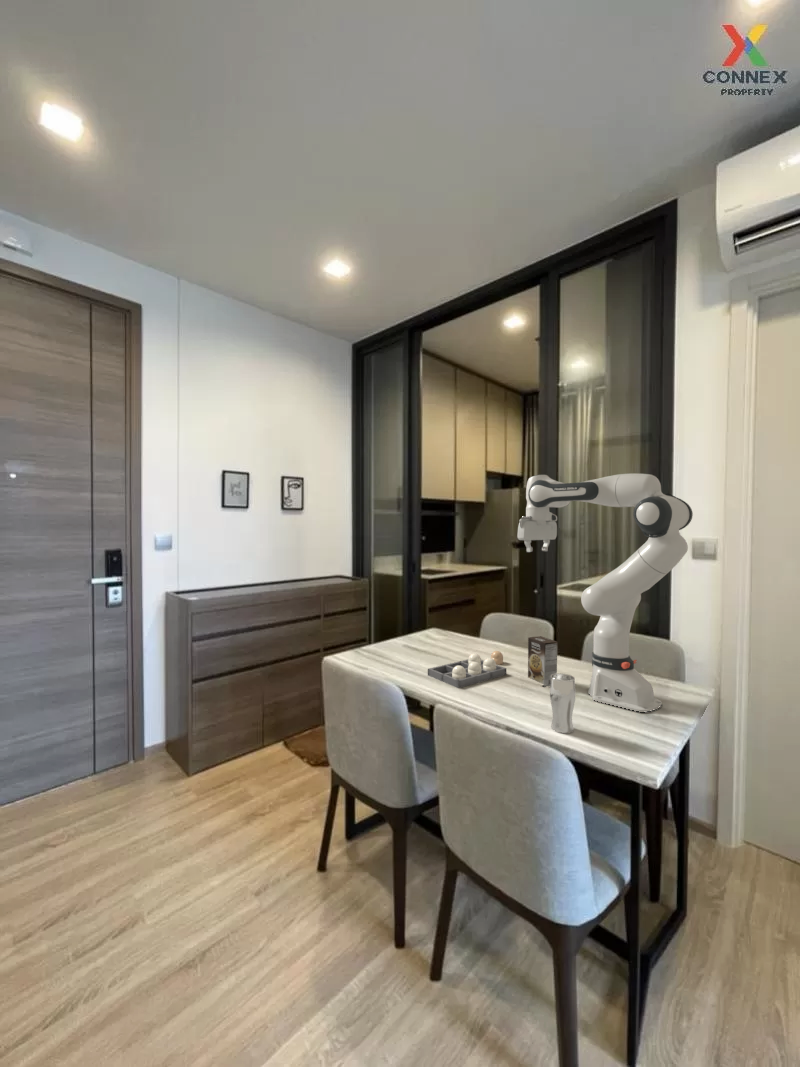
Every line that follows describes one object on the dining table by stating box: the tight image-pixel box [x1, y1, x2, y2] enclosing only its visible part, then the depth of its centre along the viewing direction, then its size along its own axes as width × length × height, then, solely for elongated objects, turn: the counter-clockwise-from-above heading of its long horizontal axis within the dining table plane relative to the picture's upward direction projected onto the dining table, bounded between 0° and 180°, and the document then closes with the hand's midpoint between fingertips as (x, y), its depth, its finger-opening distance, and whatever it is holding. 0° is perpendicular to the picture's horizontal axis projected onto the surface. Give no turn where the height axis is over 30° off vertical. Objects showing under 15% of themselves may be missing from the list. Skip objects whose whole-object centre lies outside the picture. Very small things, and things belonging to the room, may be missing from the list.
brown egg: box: [490, 650, 504, 666], centre depth 192 cm, size 5×5×6 cm
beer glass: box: [549, 672, 577, 734], centre depth 132 cm, size 7×7×15 cm
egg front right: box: [483, 657, 496, 671], centre depth 178 cm, size 5×5×6 cm
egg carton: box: [427, 659, 507, 689], centre depth 176 cm, size 17×25×4 cm
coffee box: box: [527, 636, 558, 688], centre depth 171 cm, size 9×6×16 cm
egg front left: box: [452, 665, 466, 680], centre depth 168 cm, size 5×5×6 cm
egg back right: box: [468, 652, 482, 665], centre depth 184 cm, size 5×5×6 cm
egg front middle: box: [468, 662, 481, 675], centre depth 173 cm, size 5×5×6 cm
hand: (537, 551), depth 182 cm, fingers open, 8 cm apart
